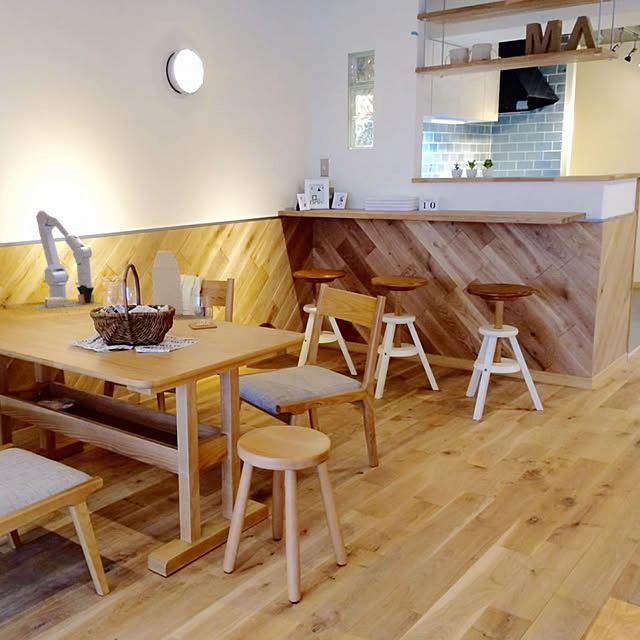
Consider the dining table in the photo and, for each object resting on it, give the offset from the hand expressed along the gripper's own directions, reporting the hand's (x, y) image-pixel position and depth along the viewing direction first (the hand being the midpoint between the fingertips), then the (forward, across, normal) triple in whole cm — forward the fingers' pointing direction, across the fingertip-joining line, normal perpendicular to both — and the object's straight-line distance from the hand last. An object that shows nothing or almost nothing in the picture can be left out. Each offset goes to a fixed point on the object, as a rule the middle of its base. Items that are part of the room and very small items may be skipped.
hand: (86, 302), depth 340 cm
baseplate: (+1, +3, -14) cm, 15 cm away
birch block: (0, +4, -15) cm, 16 cm away
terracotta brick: (+1, 0, 0) cm, 1 cm away
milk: (+2, +50, +20) cm, 54 cm away
